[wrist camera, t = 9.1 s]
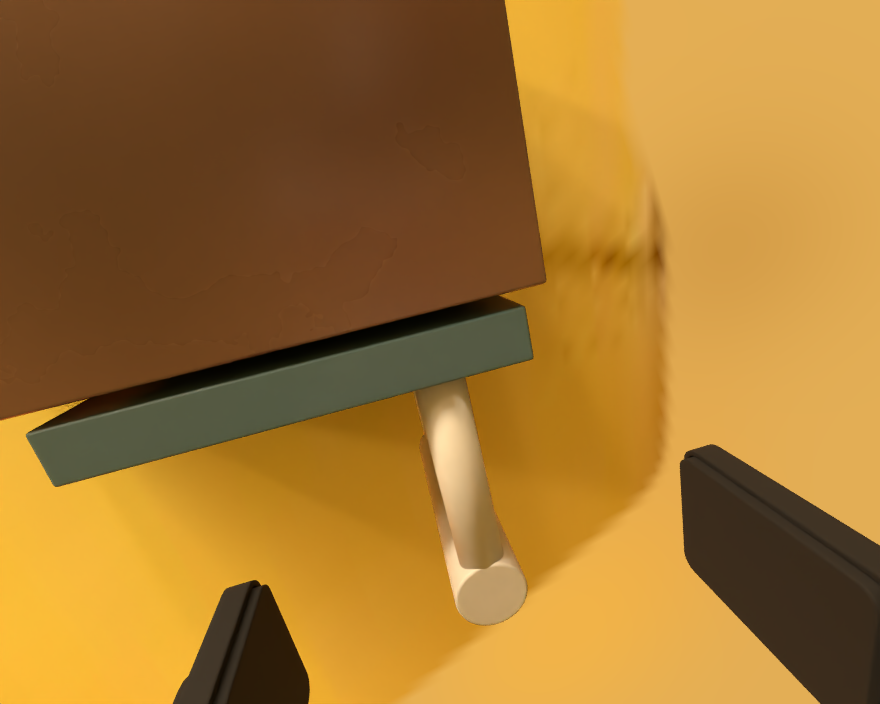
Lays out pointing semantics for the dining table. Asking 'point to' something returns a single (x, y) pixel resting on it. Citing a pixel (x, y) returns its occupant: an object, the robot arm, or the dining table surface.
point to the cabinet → (246, 180)
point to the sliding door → (324, 392)
